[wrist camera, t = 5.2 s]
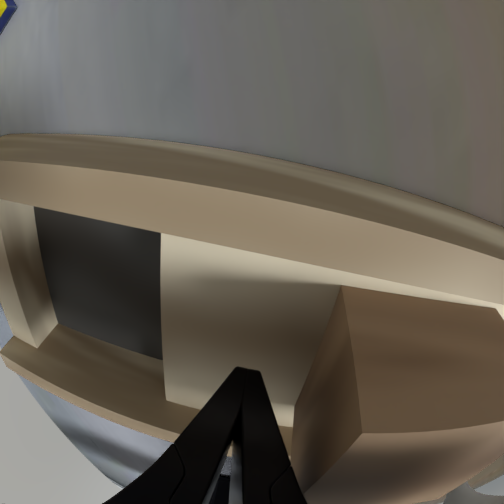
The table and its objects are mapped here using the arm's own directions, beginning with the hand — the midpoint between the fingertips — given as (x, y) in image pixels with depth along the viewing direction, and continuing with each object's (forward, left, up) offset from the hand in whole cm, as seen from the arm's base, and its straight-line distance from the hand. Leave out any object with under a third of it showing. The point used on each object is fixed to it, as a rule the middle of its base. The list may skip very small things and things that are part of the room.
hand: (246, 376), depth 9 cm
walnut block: (0, -5, -1) cm, 5 cm away
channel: (0, 0, -4) cm, 4 cm away
